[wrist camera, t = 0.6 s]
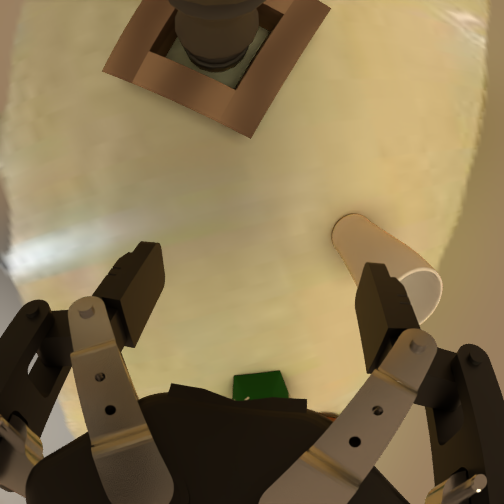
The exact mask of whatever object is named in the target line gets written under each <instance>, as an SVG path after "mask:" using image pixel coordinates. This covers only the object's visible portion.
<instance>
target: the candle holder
mask: <svg viewBox="0 0 504 504" xmlns="http://www.w3.org/2000/svg"><path fill="white" fill-rule="evenodd" d="M168 1H169V3H170V4H171V5H172V6H173V7H174V8H176V9H177V10H178V12H177V14H176V16H175V32H176V34H177V36H178V38H179V40H180V42H181V43H182V45H183V47H184V49H185V51H186V53H187V55H188V57H189V59H190V60H191V62H192V63H193V64H195V65H196V66H197V67H198V68H200V69H202V70H206V71H209V72H222V71H226V70H228V69H230V68H233V67H235V66H236V65H237V64H238V63H239V62H240V61H241V60H242V59H243V57H244V56H245V54H246V52H247V49H248V47H249V44H250V43H251V42H252V41H253V39H254V37H255V35H256V32H257V30H258V28H259V17H258V11H257V9H256V8H257V7H259V6H260V5H261V4H262V3H263V2H265V1H266V0H168Z"/></svg>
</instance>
